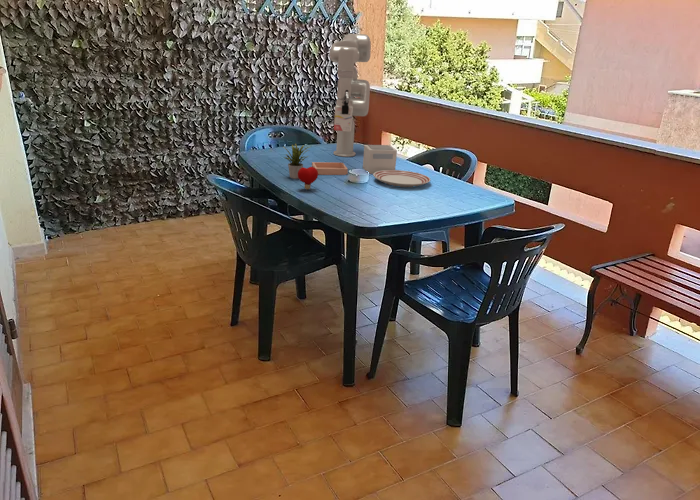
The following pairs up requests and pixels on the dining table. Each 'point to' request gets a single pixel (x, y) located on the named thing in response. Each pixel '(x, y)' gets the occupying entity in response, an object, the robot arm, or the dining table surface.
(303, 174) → the red heart ornament
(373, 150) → the grey unit
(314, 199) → the dining table surface
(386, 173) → the dinner plate
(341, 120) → the ink cartridge box
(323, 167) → the tray
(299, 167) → the house plant
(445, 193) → the dining table surface
